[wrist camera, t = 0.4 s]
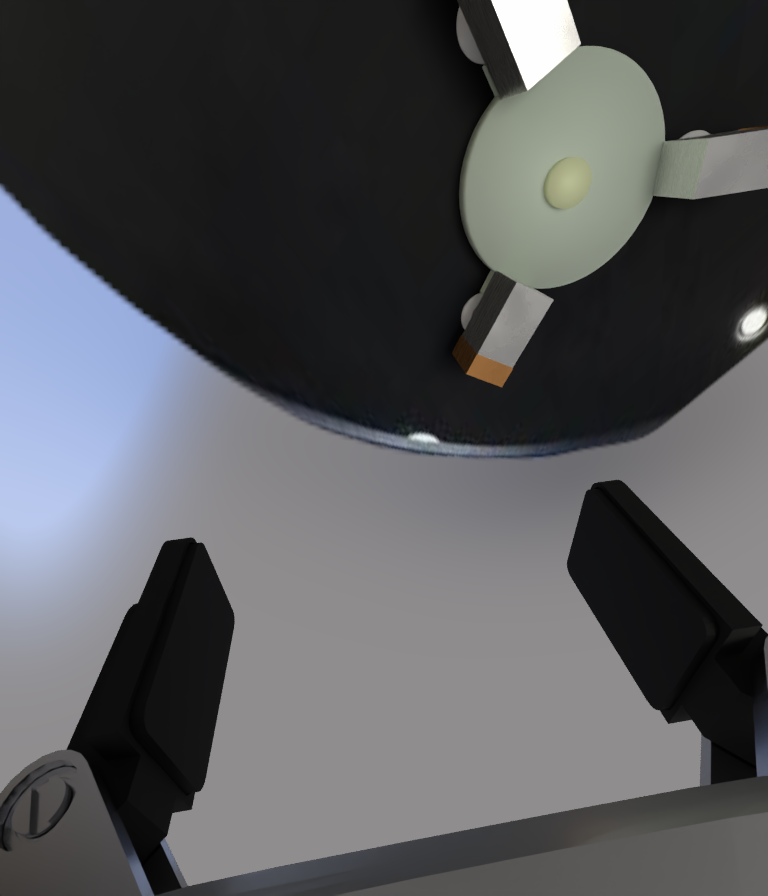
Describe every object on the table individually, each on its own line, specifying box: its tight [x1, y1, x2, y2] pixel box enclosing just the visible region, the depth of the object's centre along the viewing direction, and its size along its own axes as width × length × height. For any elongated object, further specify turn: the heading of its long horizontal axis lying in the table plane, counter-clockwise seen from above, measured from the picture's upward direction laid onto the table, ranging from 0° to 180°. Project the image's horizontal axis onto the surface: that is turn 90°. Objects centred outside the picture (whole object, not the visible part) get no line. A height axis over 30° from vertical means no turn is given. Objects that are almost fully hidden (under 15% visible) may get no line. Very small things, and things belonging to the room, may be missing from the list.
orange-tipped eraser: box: [452, 270, 553, 387], centre depth 35 cm, size 8×4×6 cm, turn 157°
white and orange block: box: [457, 0, 581, 100], centre depth 24 cm, size 8×4×6 cm, turn 37°
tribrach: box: [456, 6, 710, 329], centre depth 32 cm, size 23×22×3 cm
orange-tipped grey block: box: [652, 125, 768, 199], centre depth 30 cm, size 8×4×6 cm, turn 97°
